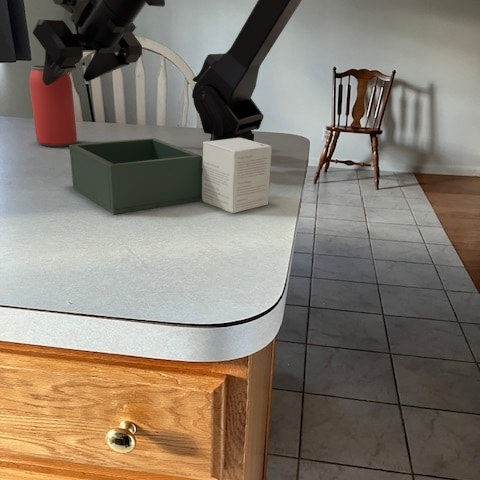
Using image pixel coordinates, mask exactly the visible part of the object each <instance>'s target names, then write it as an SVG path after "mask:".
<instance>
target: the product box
mask: <svg viewBox="0 0 480 480" xmlns="http://www.w3.org/2000/svg"><path fill="white" fill-rule="evenodd" d="M272 151H273V147H272V145H270V144H266V143H262V142H258V141H255V140H254V141H251V140H247V139H243V138H233V139H225V140H216V141H210V140H207V141H203V142H202V168H203V172H202V196H201V197H202V200H201V201H202V202H203V203H206V204H208V205H210V206H214V207H216V208H218V209H220V210H223V211H226V212H228V213H231V214H235V213H239V212H243V211H247V210H252V209H255V208H259V207H263V206H268V204H269V198H270V197H269V196H270V195H269V194H270V183H271V182H270V180H271V166H272V153H273V152H272Z"/></svg>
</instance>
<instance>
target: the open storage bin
mask: <svg viewBox="0 0 480 480" xmlns="http://www.w3.org/2000/svg"><path fill="white" fill-rule="evenodd" d="M68 147H69V148H68V149H69V158H70V167H71V179H72V189H74V190H75V191H77V192H78V193H79V194H81V195H83V196H85V197H86V198H87V199H89V200H90V201H92V202H94V203H95V204H97V205H98V206H100V207H102V208H103V209H105V210H106V211H108V212H110V213H111V214H112V215H119V214H125V213H132V212H138V211H143V210H144V211H145V210H150V209H157V208H162V207H163V208H164V207H169V206H176V205H182V204H187V203H194V202H199V201H200V202H201V201H203V200H202V176H203V172H202V168H203V155H201V154H197V153H195V152H193V151H189V150H187V149H184V148H182V147H179V146H176V145H175V144H171V143H169V142H166V141H164V140H160V139H158V138H156V137H149V138H138V139H125V140H124V139H123V140H112V141H97V142H85V143H75V144H73V145H69V146H68Z"/></svg>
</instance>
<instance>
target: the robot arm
mask: <svg viewBox="0 0 480 480" xmlns="http://www.w3.org/2000/svg"><path fill="white" fill-rule="evenodd" d="M52 2H53V3H54V4H55V5H57V6H60V7H62V8H63V9H64V10H65V11H67V12H68V13H70V14H71V16H70V17H69V19H70V21H71V22H72V24H73V25H74V26H77V27H78V29H77V31H78V33H73V32H72V30H71V29H70V28H69V26H68V25H67V23H66V22H65V20H60V19H43V18H42V19H40V18H39V19H38V20H37V22H36V23H35V25H34V27H33V28H32V35H33V36H34V37H35V38H36V40H37V41H38V42H39V44H40V45H41V46H42V48H43V49H44V64H43V65H44V70H43V77H42V81H43V82H44V83H45V85H50V84H51V83H53V82H55V81H56V80H58V79H60V78H61V77H63V76H64V75H66V74H67V73H68V74H70V72H72V71H74V70H75V69H77V64H78V63H80V62H81V60H83V58H84V53H94V54H93V55H92V57H91V59H90V61H89V63H88V65H87V67H86V68H85V71H84V73H83V75H82V78H83V79H84V81H85V82H86V83H87V82H88V83H89V82H91V81H93V80H96V79H98V78H100V77H102V76H105V75H107V74H109V73H111V72H114V71H116V70H119V69H121V68H123V67H126V66H129V65H130V64H132V63H137V62H138V61H139V59H140V58H141V57H142V55H143V46H142V44H141V42H140V41H139V39H138V38H137V36H135V34H134V33H133V32H134V31H135V30H136V29H137V26H136V24H135V23H134V22H135V20H136V19H137V17H138V16H139V15H140V13H141V12H142V10H143V9H144V8H145V6H146V5H148V6H149V7H160V8H163V7H165V6H166V0H52ZM301 2H302V0H257V2H256V3H255V5H254V6H253V9H252V10H251V12H250V14H249V15H248V17H247V19H246V21H245V22H244V23H243V25H242V27H241V28H240V30H239V32H238V34H237V36H236V38H235V40H234V41H233V43H232V45H231V46H230V48H229V49H228V50H227V51H226V52H224V53H209V54H208V55H207V56H206V57H205V59H204V61H203V63H202V67H201V69H200V71H199V72H198V74H197V75H196V76H195V77H194V78H192V82H195V84H194V86H193V89H192V93H191V98H192V100H193V106H194V109H195V110H196V112H197V114H198V116H199V120H200V124H201V126H202V130H203V133H204V134H209V135H210V139H209V141H216V140H225V139H233V138H243V139H247V140H251V141H255V133H253V131H254V130H259V129H260V127H261V125H262V122H263V120H264V118H265V116H264V114H263V113H262V111H261V109H260V108H259V107H258V105H257V104H256V103H255V102H254V100H253V99H252V97H253V93H254V92H255V89H256V87H257V82H258V77H259V71H260V68H261V65H262V64H263V62H264V61H265V59H266V58H267V56H268V54H269V53H270V51H271V49H272V48H273V46H274V45H275V43H276V42H277V40H278V38H279V37H280V35H281V34H282V32H283V30H284V29H285V28H286V26H287V24H288V23H289V21H290V20H291V18H292V17H293V15H294V13H295V12H296V10H297V9H298V7H299V5H300V4H301ZM202 173H203V167H202Z"/></svg>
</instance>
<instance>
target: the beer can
mask: <svg viewBox="0 0 480 480" xmlns="http://www.w3.org/2000/svg"><path fill="white" fill-rule="evenodd" d="M30 68H31V69H30V74H29V79H28V81H29V82H28V83H29V91H30V98H31V107H32V114H33V123H34V131H35V139H36V142H37V143H38V144H39V145H41V146H44V147H51V148H64V147H69V145H73V144H77V143H76V142H77V141H78V136H77V135H78V133H77V125H76V115H75V114H76V113H75V103H74V101H75V100H74V93H73V82H72V78H71V76H70V73H67V74H66V75H64V76H63V77H61V78H60V79H58V80H56V81H55V82H53V83H51V84H50V85H45V83H44V82H43V81H42V77H43V70H44V64H38V65H36V64H35V65H31V66H30Z"/></svg>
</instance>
